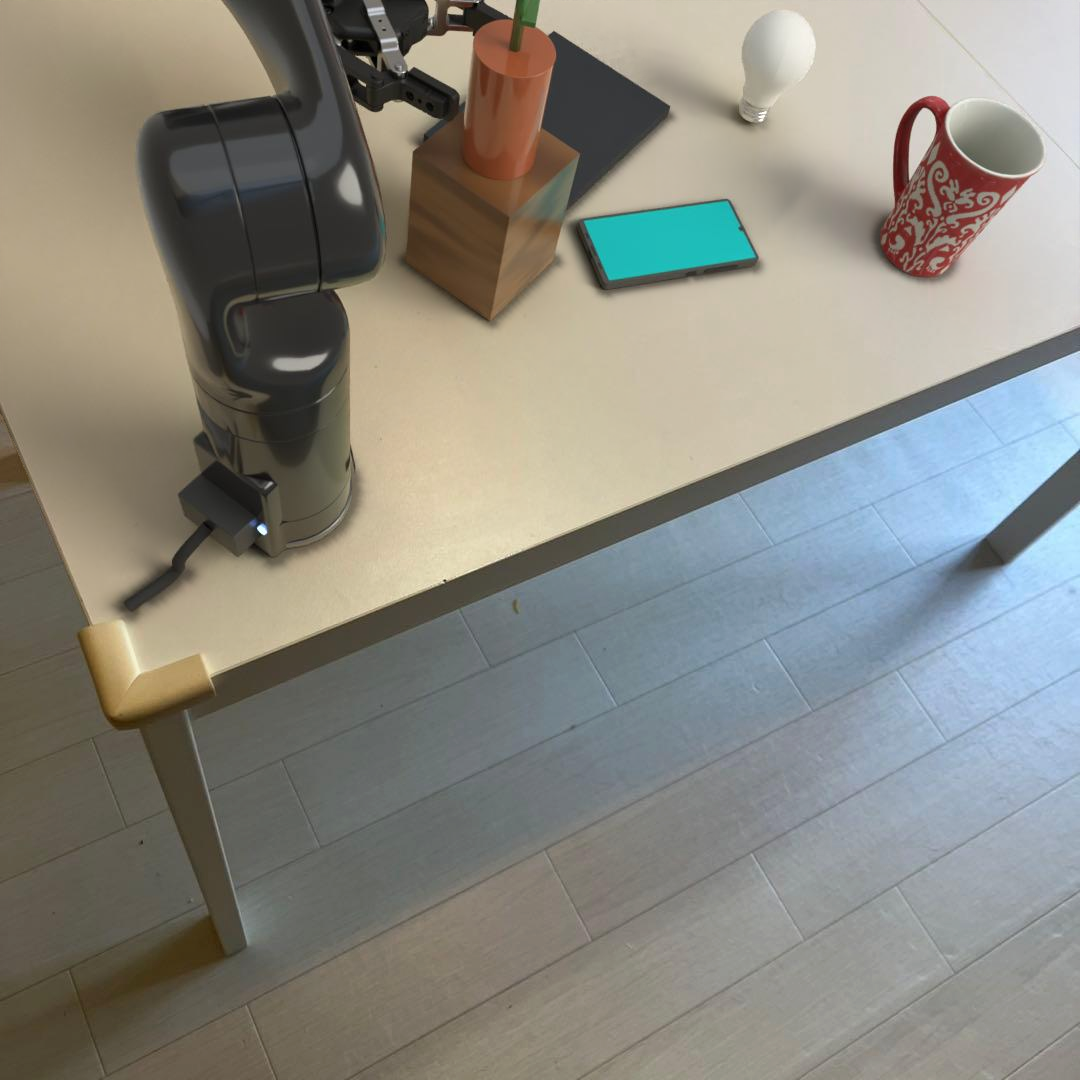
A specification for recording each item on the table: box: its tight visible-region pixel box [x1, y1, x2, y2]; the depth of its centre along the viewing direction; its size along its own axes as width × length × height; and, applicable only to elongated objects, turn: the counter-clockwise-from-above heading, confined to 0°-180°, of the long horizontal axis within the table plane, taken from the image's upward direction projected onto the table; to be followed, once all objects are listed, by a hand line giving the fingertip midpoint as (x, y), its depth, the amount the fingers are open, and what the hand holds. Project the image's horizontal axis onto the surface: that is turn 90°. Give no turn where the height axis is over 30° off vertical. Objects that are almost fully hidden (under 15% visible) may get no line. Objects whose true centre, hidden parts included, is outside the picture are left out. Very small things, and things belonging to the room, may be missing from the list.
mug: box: [879, 95, 1047, 278], centre depth 91 cm, size 13×9×14 cm
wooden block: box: [405, 110, 580, 322], centre depth 81 cm, size 9×9×12 cm
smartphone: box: [576, 198, 759, 290], centre depth 90 cm, size 7×1×15 cm
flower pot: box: [461, 0, 556, 180], centre depth 67 cm, size 6×6×20 cm
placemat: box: [422, 30, 671, 213], centre depth 94 cm, size 20×14×1 cm
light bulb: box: [738, 9, 817, 124], centre depth 95 cm, size 7×7×11 cm
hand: (489, 75), depth 71 cm, fingers open, 8 cm apart
